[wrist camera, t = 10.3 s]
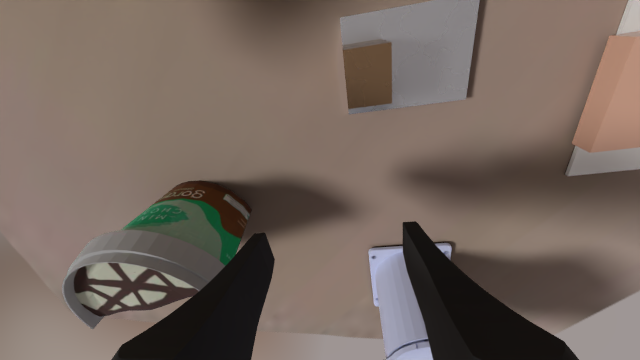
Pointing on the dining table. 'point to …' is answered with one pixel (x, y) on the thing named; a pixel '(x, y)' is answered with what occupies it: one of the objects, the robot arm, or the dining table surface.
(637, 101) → the tile
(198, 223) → the food container
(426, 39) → the turner
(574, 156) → the mat
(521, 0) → the dining table surface
